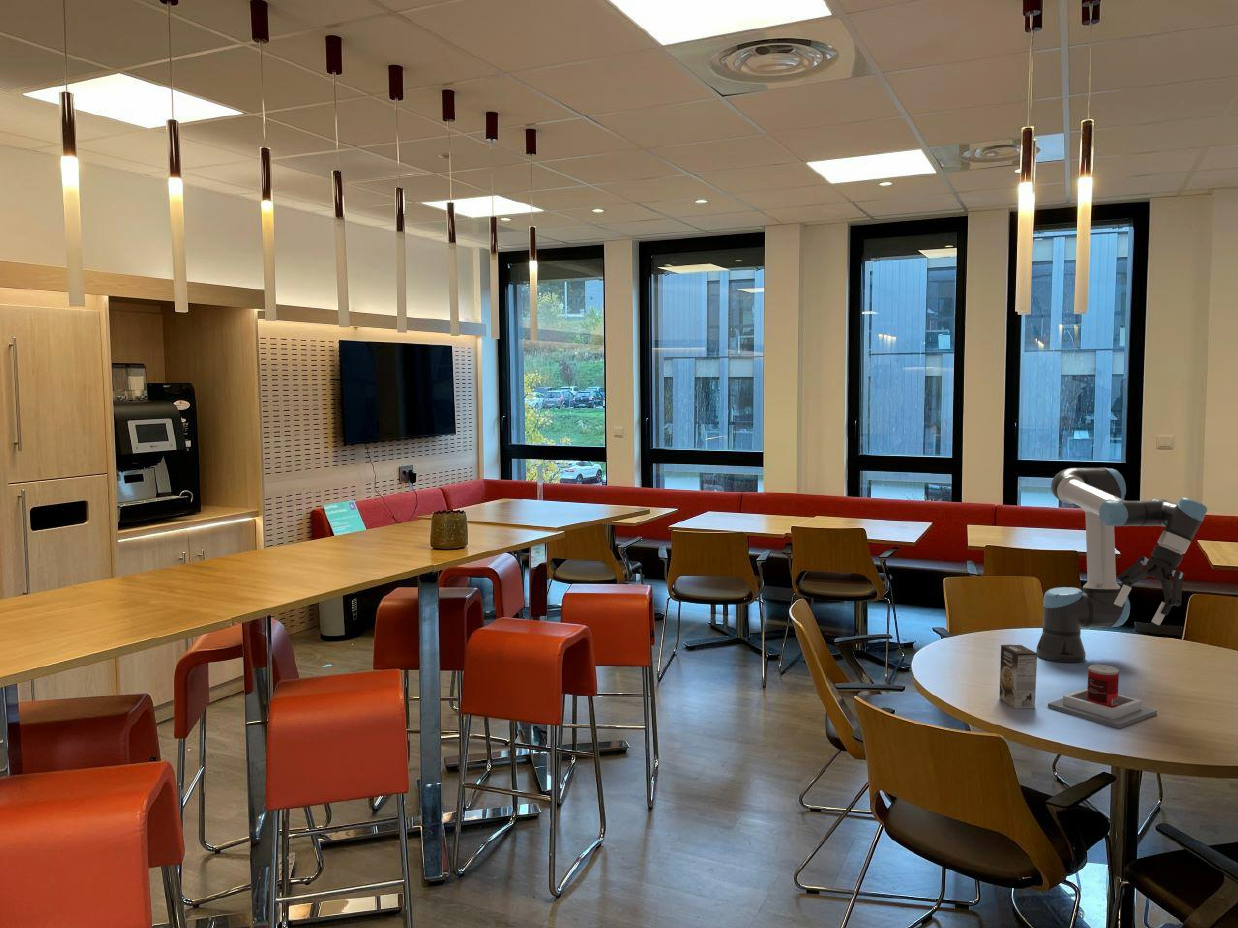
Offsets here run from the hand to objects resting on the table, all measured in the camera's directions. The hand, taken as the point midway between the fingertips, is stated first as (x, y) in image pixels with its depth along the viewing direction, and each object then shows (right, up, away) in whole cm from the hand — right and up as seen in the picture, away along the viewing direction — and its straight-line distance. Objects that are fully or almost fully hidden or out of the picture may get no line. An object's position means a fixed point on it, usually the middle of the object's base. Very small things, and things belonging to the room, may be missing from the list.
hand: (1136, 614), depth 265 cm
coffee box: (-37, -25, -4) cm, 45 cm away
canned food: (-16, -24, -11) cm, 31 cm away
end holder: (-16, -25, -11) cm, 32 cm away
